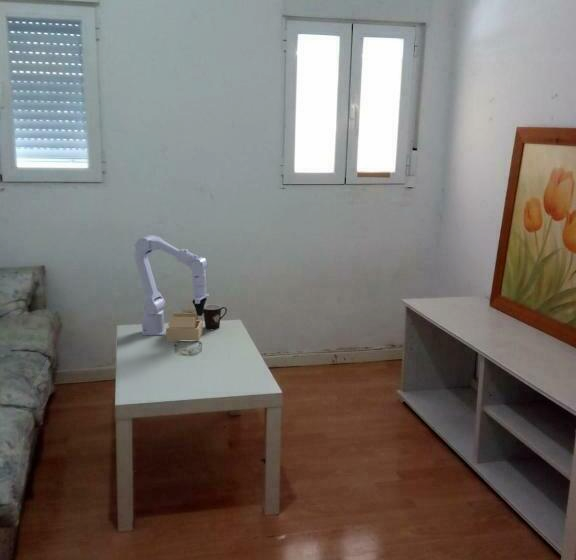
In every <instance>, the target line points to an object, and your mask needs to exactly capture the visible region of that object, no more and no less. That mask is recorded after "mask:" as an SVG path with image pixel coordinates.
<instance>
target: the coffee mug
mask: <svg viewBox="0 0 576 560" xmlns="http://www.w3.org/2000/svg"><path fill="white" fill-rule="evenodd" d="M223 309H225V311H224V313H223V315H221V313H222V310H223ZM227 312H228V309H227V307H224V306H221V305H220V304H217V303H213V304H210V303H209V304H205V305H204V311H203V314H202V315H203V320H204V325H205V329H206V328H207V329H206V330H208V329H213V330H212V331H214V329H216V330H219V329H220V326H221V320H222V319H223V318H224V317H225V315H226V314H227ZM218 328H219V329H218Z"/></svg>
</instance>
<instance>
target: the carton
mask: <svg viewBox="0 0 576 560" xmlns="http://www.w3.org/2000/svg"><path fill="white" fill-rule="evenodd" d="M165 328H166V331H165V336H166V338H165V339H166V343H167V342H169V343H170V342H171V343H172V342H173V343H175V341H180V340H196V341H199V342H200V339H201V338H202V336H201V335H203V331H204V330H203V320H202V319H201V320H200V319H199V320H196V323H195V328H170V322H169V323H168V325H167V326H166V327H165Z"/></svg>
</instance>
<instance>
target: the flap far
mask: <svg viewBox="0 0 576 560" xmlns="http://www.w3.org/2000/svg"><path fill="white" fill-rule="evenodd" d="M172 317H196V320H200V319H199V316H197V313H196V312H172Z"/></svg>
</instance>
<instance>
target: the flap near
mask: <svg viewBox="0 0 576 560" xmlns="http://www.w3.org/2000/svg"><path fill="white" fill-rule="evenodd" d="M169 318H170V319H169V323H170V328H195V323H196V317H173V316H170V317H169Z"/></svg>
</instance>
